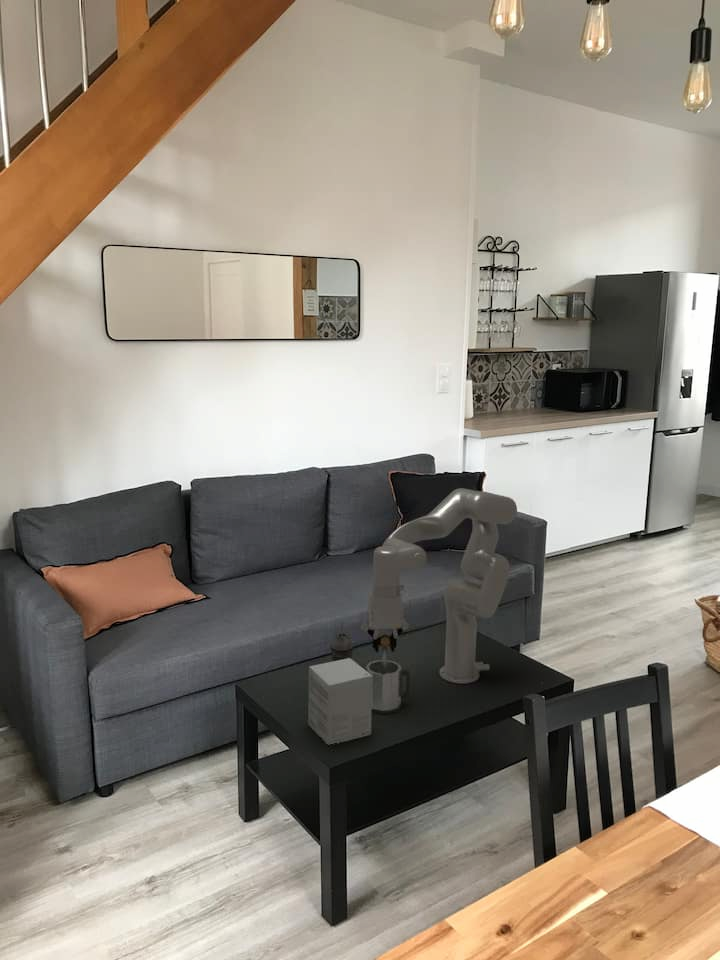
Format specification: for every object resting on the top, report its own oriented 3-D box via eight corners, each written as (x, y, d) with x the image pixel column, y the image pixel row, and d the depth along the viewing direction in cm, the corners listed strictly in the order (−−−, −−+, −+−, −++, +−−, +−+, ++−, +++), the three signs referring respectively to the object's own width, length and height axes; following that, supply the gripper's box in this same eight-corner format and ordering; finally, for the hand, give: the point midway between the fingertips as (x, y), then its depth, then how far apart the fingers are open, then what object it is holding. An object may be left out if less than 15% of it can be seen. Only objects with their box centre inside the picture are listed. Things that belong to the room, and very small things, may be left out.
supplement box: (349, 714, 223) (350, 656, 219) (371, 735, 211) (373, 675, 208) (307, 724, 217) (307, 665, 213) (328, 746, 205) (328, 685, 202)
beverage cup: (354, 677, 246) (355, 617, 242) (351, 687, 239) (352, 626, 235) (331, 675, 247) (332, 616, 243) (328, 686, 240) (329, 624, 236)
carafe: (404, 695, 234) (405, 658, 232) (412, 712, 224) (413, 673, 222) (362, 698, 232) (363, 660, 230) (368, 715, 222) (369, 676, 220)
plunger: (393, 680, 231) (395, 628, 228) (398, 692, 224) (400, 638, 221) (368, 682, 230) (369, 629, 227) (372, 693, 223) (373, 640, 219)
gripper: (411, 584, 226) (409, 643, 230) (354, 586, 223) (353, 646, 227) (417, 593, 219) (415, 654, 222) (358, 595, 216) (357, 656, 220)
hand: (384, 649), depth 225 cm, fingers closed on plunger, 4 cm apart
